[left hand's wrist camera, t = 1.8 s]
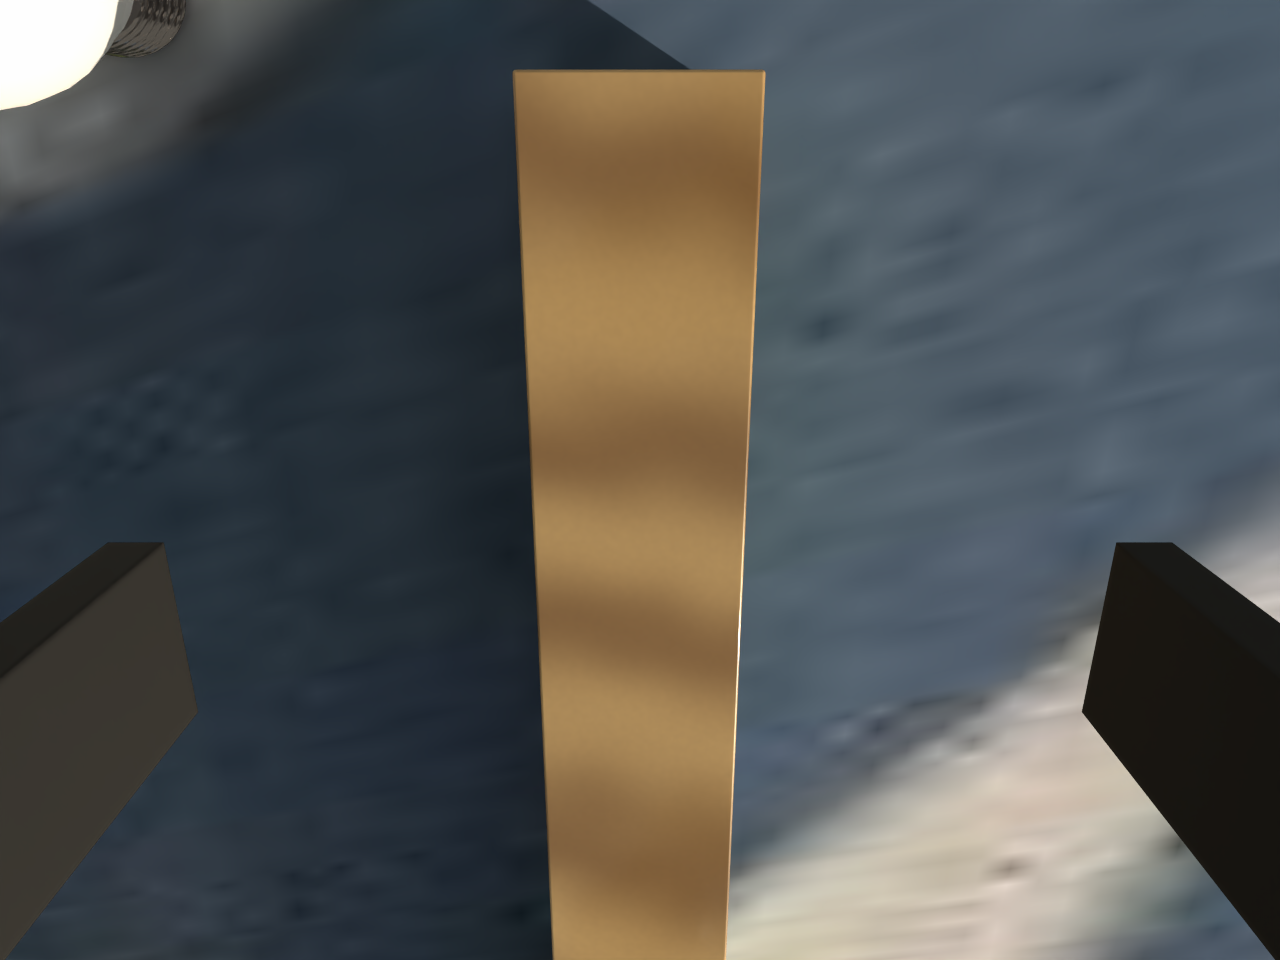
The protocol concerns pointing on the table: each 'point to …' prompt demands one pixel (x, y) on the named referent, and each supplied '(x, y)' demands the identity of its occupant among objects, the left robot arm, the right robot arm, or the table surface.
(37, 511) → the table surface
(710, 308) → the bar
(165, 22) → the light bulb
